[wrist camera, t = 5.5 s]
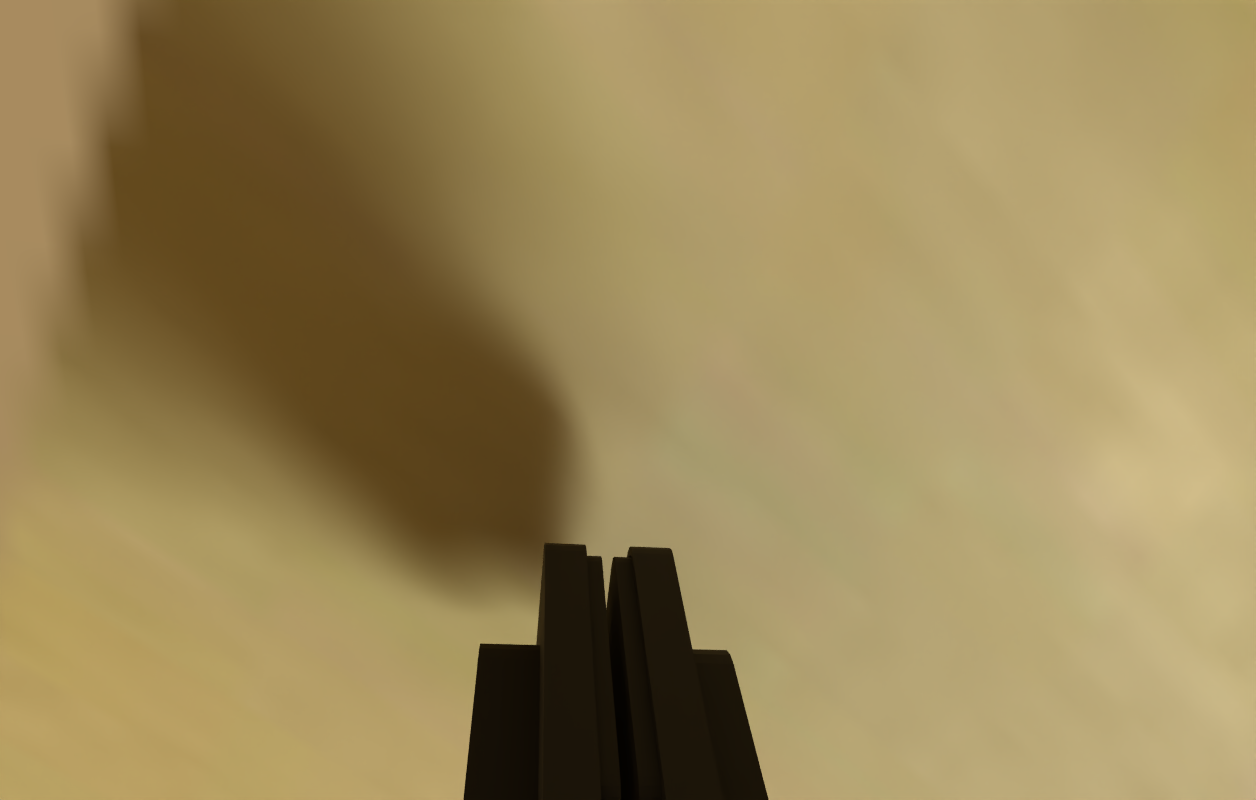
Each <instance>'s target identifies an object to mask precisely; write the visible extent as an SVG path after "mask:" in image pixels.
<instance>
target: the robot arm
mask: <svg viewBox="0 0 1256 800" xmlns="http://www.w3.org/2000/svg"><path fill="white" fill-rule="evenodd" d="M464 800H768V796H767V792H766V788H765V784H764V781H763V777H762V773H761V769H760V765H759V761H758V757H757V753H756V749H755V746H754V742H753V738H752V734H751V730H750V726H749V722H748V718H747V715H746V711H745V707H744V703H743V699H742V695H741V691H740V687H739V684H738V680H737V676H736V672H735V668H734V664H733V661H732V658H731V656H730V654H729V653H728V651H727V650H695V649H692V645H691V641H690V636H689V631H688V626H687V621H686V616H685V611H684V606H683V601H682V596H681V592H680V587H679V582H678V577H677V572H676V567H675V562H674V557H673V553H672V550H671V549H670V548H652V547H630V548H629V550H628V554H627V557H614V558H613V561H612V567H611V575H610V583H609V592H608V600H607V608H606V602H605V590H604V578H603V566H602V558H601V556H587V551H586V545H578V544H554V543H545V545H544V555H543V567H542V580H541V593H540V606H539V618H538V631H537V644H536V645H511V644H480V648H479V656H478V665H477V675H476V685H475V694H474V704H473V714H472V723H471V733H470V742H469V752H468V762H467V771H466V781H465V791H464Z"/></svg>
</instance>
